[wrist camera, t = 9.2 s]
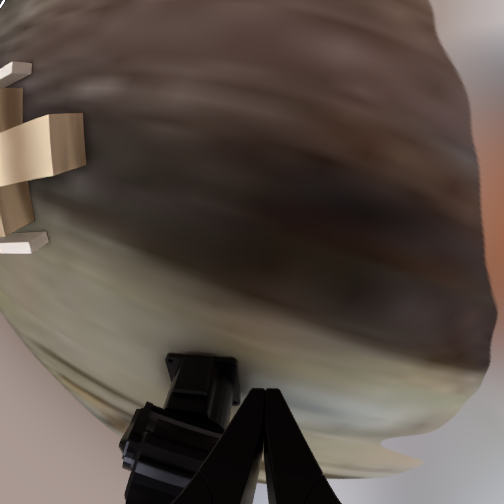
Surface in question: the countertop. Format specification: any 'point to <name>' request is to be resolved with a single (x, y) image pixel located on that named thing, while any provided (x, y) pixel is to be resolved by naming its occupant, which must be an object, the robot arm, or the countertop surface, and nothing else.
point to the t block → (32, 155)
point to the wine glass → (0, 1)
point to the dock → (27, 240)
